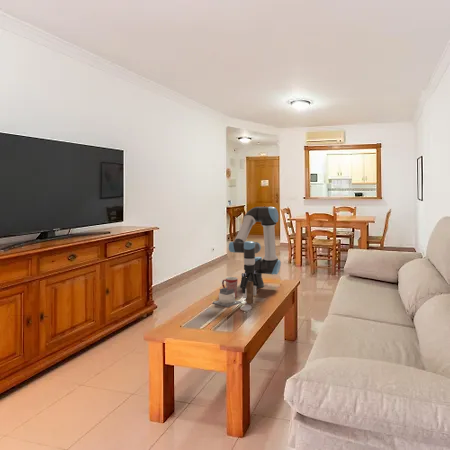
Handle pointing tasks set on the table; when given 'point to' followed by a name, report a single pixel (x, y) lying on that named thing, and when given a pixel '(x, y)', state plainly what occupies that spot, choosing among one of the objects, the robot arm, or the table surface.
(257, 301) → the table surface
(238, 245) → the robot arm
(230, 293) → the square plate with disc
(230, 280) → the mug
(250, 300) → the wood plank
